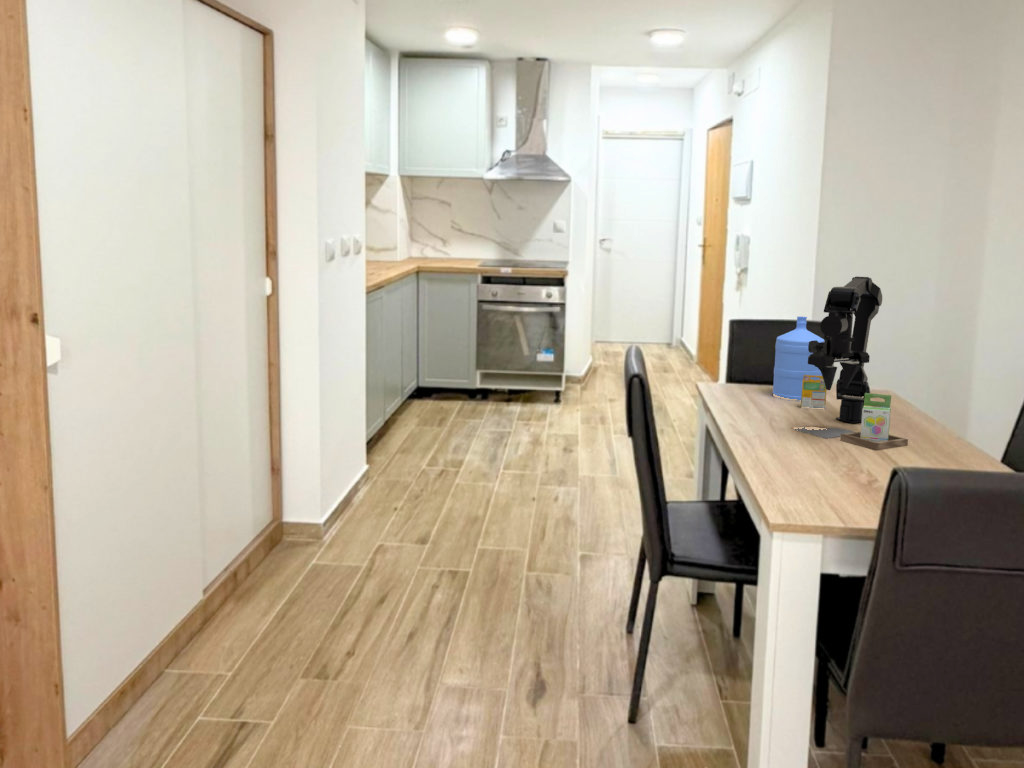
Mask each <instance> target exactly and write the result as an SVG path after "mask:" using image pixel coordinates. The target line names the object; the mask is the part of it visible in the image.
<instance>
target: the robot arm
mask: <svg viewBox="0 0 1024 768" xmlns="http://www.w3.org/2000/svg"><path fill="white" fill-rule="evenodd" d="M882 304H883V293H882V290H881V288H880V286H878V285H877V284H876V283H874V282H873V280H872V278H871V277H869V276H853V277H852V279H851V280H850V281H849V282H848V283H846V284H845V285H844V286H833V287H832V288H831V290H829V291H828V294H827V297H826V300H825V304H824V309H823V313H828V314H827V315H826V316H825V317H824V318H822V319H821V322H820V325H819V328H820V331H821V332H822V334H823V335H824V336H826V337H825V338H824V341H825V342H822V343H819V342H818V341H817V340H815V341H810V342H809V345H808V351H809V352H810V353H813V354H811V355H810V356H809V357H808V364H811V365H814V366H815V367H817V368H818V369H819V370H820V371H821V373H822V376H823V379H824V383H825V386H826V391H830V390H831V389H832V386H833V384H834V380H835V376H836V373H837V370H838V366H834V365H835V363H839V364H840V366H841V368H842V369H841V370H840V371H839V372H840V373H839V378H838V379H837V380H836V384H835V385H836V386H835V391H836V400H841V401H840V402H841V403H840V405H839V416H838V417H835V419H836V420H838V421H841V422H846V423H850V424H855V423H862V409H863V406H864V398H865V393H871V389H870V384H869V382H868V380H869V379H868V375H867V373H866V371H865V369H864V366H865V364H869V363H870V355H869V353H868V352H867V349H868V342H869V335H870V329H871V324H872V323H871V322H872V320H873V319H874V318H875V317H876V315H877V314H879V309H880V307H881V306H882ZM853 321H854V322H853Z"/></svg>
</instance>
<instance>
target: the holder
mask: <svg viewBox="0 0 1024 768" xmlns="http://www.w3.org/2000/svg"><path fill="white" fill-rule="evenodd" d="M860 436H861V431H855V432H854V433H846V434H841V437H839V439H840V441H841V442H845V443H848V444H850V445H851V444H852V445H856V446H858V447H863V448H866V449H869V450H873V451H882V450H888V449H894V448H900V447H901V448H902V447H906V446H908V445H909V443H908V442H909V439H908V438H905V437H902V436H901V437H900V436H897V435H892V434H889V437H888V441H882V442H873V441H870V440H866V439H862V438H860Z"/></svg>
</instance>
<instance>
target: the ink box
mask: <svg viewBox="0 0 1024 768" xmlns="http://www.w3.org/2000/svg"><path fill="white" fill-rule="evenodd" d="M863 398H864V397H863ZM874 398H879V399H883V400H884V401H876V400H871V399H874ZM891 404H892V394H891V395H890V394H879V393H871V392H870V393H865V398H864V406H863V409H862V422H860V423H861V424H860V432H861V436H860V438H862V439H866V440H870V441H873V442H882V441H888V437H889V435H890V423H891V414H892V413H891Z"/></svg>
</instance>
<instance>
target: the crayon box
mask: <svg viewBox="0 0 1024 768" xmlns="http://www.w3.org/2000/svg"><path fill="white" fill-rule="evenodd" d="M810 377H817V378H820V380H814V379H810ZM826 401H827V390H826V386H825V383H824V379H823V376H815V375H804V376H803V381H802V397H801V401H800V408H801V407H809V408H824V409H825V410H826Z"/></svg>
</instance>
